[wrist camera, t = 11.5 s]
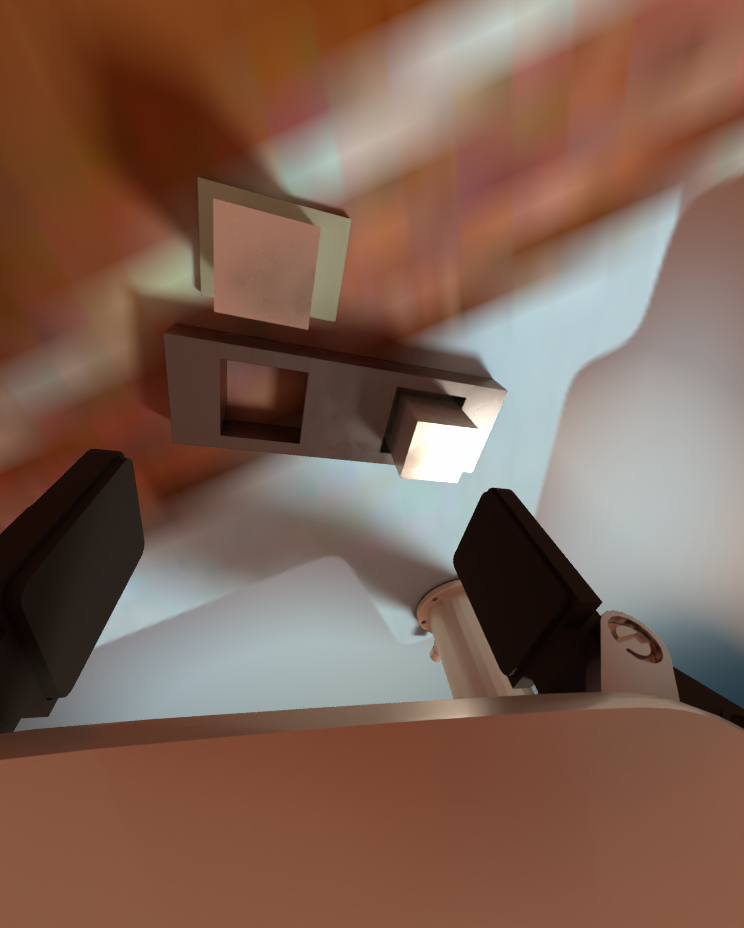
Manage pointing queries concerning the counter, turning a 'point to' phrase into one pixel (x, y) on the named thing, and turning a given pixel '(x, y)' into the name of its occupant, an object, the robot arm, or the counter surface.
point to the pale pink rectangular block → (263, 265)
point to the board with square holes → (308, 397)
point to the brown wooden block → (428, 435)
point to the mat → (331, 225)
